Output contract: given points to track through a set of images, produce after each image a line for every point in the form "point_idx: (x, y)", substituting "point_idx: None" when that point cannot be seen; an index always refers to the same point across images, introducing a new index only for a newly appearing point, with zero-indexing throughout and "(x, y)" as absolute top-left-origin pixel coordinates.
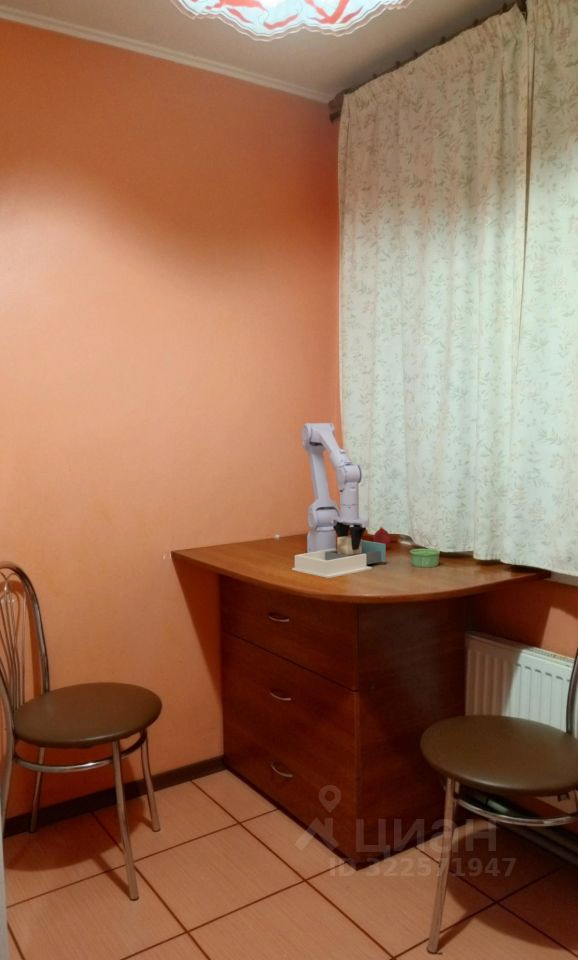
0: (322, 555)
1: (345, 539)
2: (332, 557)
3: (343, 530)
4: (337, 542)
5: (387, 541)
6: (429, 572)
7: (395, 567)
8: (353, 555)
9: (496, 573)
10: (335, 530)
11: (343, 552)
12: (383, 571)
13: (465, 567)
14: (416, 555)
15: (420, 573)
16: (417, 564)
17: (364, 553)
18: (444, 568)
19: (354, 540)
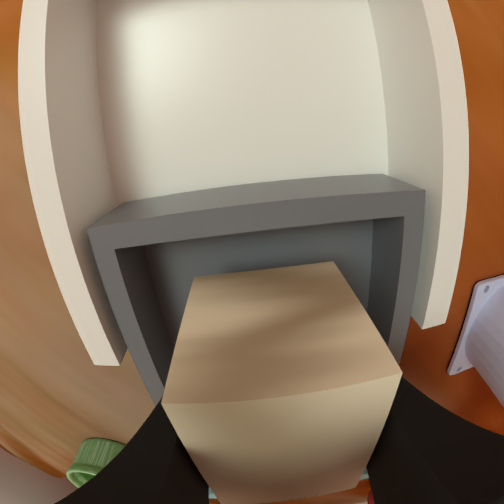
0: (422, 163)
1: (206, 394)
2: (323, 188)
3: (401, 502)
4: (372, 326)
5: (369, 500)
6: (20, 400)
7: (116, 404)
8: (123, 290)
9: (7, 443)
10: (495, 438)
11: (251, 282)
12: (58, 328)
13: (65, 465)
14: (86, 466)
15: (10, 378)
16: (95, 443)
17: (161, 388)
18: (63, 447)
19: (139, 431)
